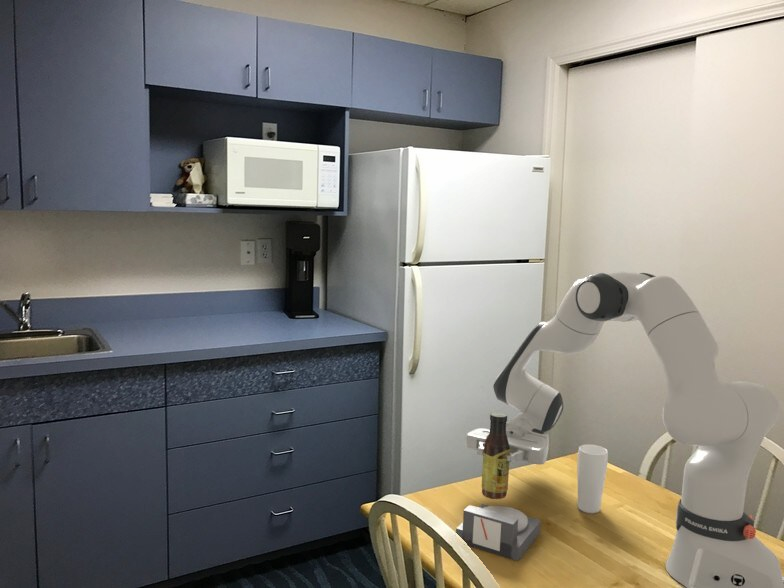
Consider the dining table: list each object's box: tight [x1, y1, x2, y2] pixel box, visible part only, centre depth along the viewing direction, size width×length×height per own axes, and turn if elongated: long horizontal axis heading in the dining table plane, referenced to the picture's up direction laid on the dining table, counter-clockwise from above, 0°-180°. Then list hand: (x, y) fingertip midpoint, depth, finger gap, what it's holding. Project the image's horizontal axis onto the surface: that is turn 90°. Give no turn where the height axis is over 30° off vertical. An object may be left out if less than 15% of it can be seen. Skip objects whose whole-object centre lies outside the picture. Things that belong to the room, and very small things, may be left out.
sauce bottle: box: [481, 411, 510, 500], centre depth 160 cm, size 7×6×20 cm
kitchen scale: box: [455, 503, 542, 562], centre depth 146 cm, size 14×14×8 cm
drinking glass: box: [576, 444, 609, 514], centre depth 160 cm, size 7×7×15 cm
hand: (494, 455), depth 159 cm, fingers closed on sauce bottle, 6 cm apart
